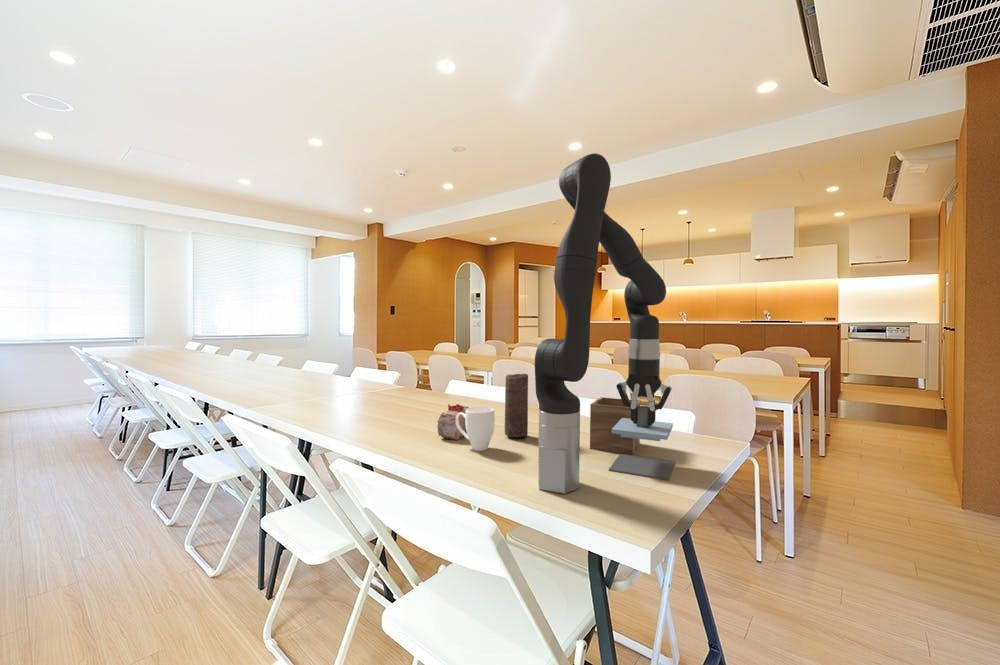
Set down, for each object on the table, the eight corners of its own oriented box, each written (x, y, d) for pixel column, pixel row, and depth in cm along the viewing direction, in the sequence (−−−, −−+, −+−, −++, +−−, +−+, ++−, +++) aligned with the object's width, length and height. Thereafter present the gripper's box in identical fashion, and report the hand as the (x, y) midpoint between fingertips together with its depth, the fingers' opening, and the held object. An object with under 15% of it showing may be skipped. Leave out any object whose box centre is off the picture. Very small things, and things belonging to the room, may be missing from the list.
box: (632, 454, 121) (633, 408, 121) (589, 448, 127) (590, 404, 126) (639, 443, 132) (640, 400, 131) (600, 438, 137) (600, 397, 137)
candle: (528, 440, 135) (528, 375, 134) (504, 440, 135) (504, 375, 134) (527, 433, 142) (527, 372, 141) (504, 433, 142) (504, 372, 141)
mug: (498, 446, 128) (499, 408, 128) (487, 454, 121) (487, 413, 120) (462, 441, 133) (462, 404, 133) (449, 449, 125) (448, 410, 125)
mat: (668, 480, 102) (668, 478, 102) (608, 470, 109) (608, 469, 109) (674, 462, 115) (674, 461, 115) (620, 454, 121) (620, 453, 121)
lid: (667, 444, 103) (667, 414, 103) (611, 437, 109) (611, 409, 109) (672, 431, 115) (673, 404, 114) (622, 425, 120) (622, 399, 120)
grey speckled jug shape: (459, 442, 133) (459, 409, 133) (435, 440, 135) (435, 408, 135) (473, 430, 146) (473, 401, 146) (451, 428, 148) (451, 400, 148)
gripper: (612, 356, 111) (612, 424, 111) (672, 359, 104) (671, 430, 105) (618, 354, 117) (618, 417, 118) (675, 356, 111) (674, 423, 112)
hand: (643, 423), depth 112 cm, fingers closed on lid, 3 cm apart
